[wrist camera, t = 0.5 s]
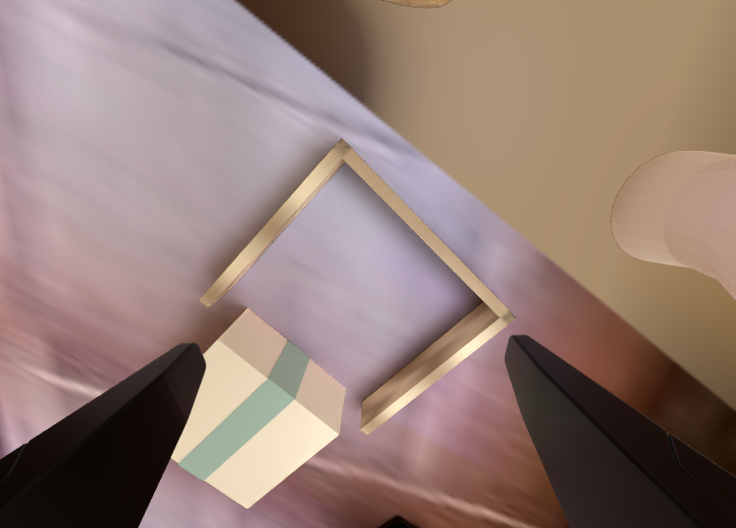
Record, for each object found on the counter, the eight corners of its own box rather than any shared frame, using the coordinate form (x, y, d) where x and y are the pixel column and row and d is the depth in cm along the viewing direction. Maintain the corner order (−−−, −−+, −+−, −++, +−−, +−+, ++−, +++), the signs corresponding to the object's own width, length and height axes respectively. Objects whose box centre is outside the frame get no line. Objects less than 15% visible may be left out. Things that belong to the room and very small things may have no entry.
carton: (268, 454, 29) (246, 510, 25) (173, 386, 27) (129, 432, 23) (346, 386, 27) (339, 434, 22) (249, 306, 25) (218, 338, 20)
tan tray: (368, 407, 27) (367, 435, 24) (220, 285, 24) (198, 300, 21) (499, 300, 24) (516, 317, 21) (346, 142, 21) (341, 138, 18)
